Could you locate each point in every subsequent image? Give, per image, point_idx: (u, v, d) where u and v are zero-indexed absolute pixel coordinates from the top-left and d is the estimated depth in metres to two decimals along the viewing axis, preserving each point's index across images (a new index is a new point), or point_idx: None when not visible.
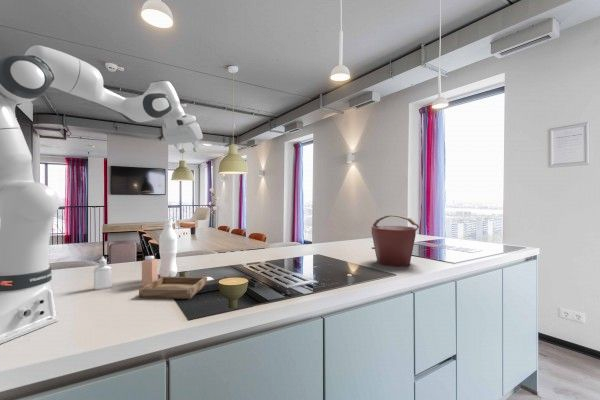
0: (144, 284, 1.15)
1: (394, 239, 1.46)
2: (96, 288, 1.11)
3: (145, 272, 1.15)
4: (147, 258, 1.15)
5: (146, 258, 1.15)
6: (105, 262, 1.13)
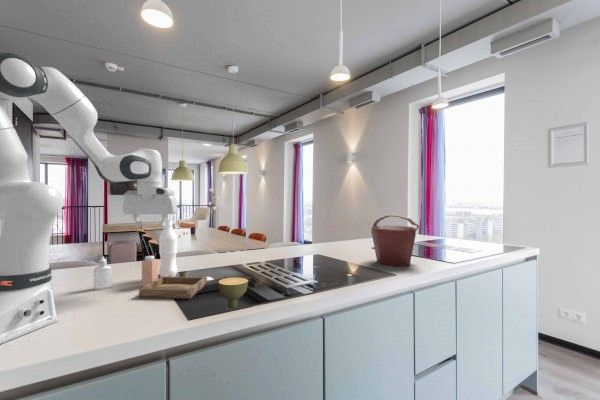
0: (144, 284, 1.15)
1: (394, 239, 1.46)
2: (96, 288, 1.11)
3: (145, 272, 1.15)
4: (147, 258, 1.15)
5: (146, 258, 1.15)
6: (105, 262, 1.13)
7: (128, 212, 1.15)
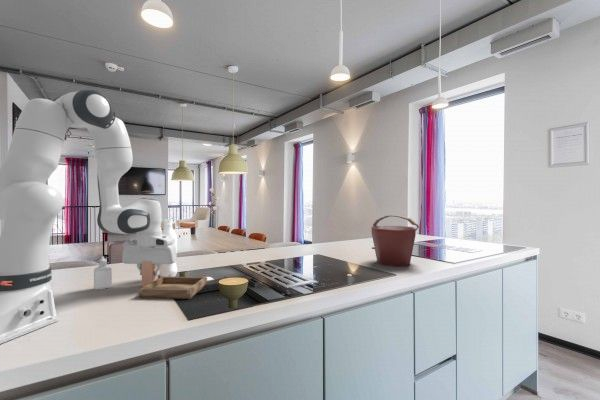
0: (144, 284, 1.15)
1: (394, 239, 1.46)
2: (96, 288, 1.11)
3: (145, 272, 1.15)
4: None
5: None
6: (105, 262, 1.13)
7: (127, 262, 1.15)
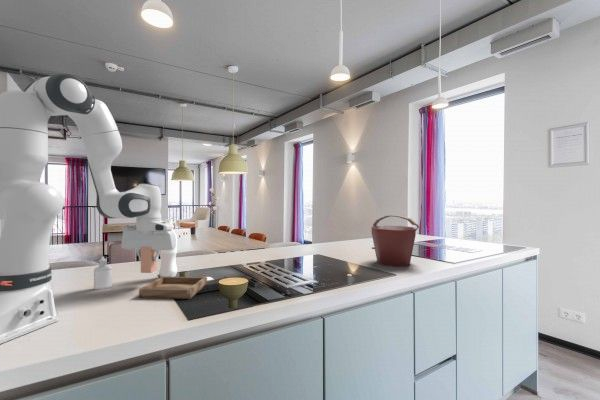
0: (143, 270, 1.15)
1: (394, 239, 1.46)
2: (96, 288, 1.11)
3: (144, 258, 1.15)
4: None
5: None
6: (105, 262, 1.13)
7: (127, 247, 1.15)
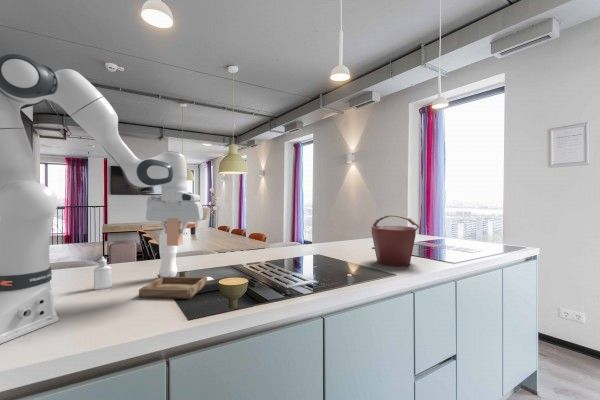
0: (169, 242, 1.08)
1: (394, 239, 1.46)
2: (96, 288, 1.11)
3: (171, 230, 1.08)
4: None
5: None
6: (105, 262, 1.13)
7: (151, 219, 1.09)
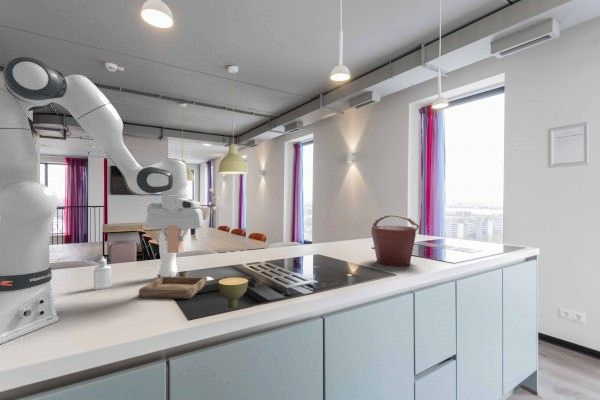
0: (170, 250, 1.08)
1: (394, 239, 1.46)
2: (96, 288, 1.11)
3: (171, 237, 1.08)
4: None
5: None
6: (105, 262, 1.13)
7: (152, 226, 1.09)
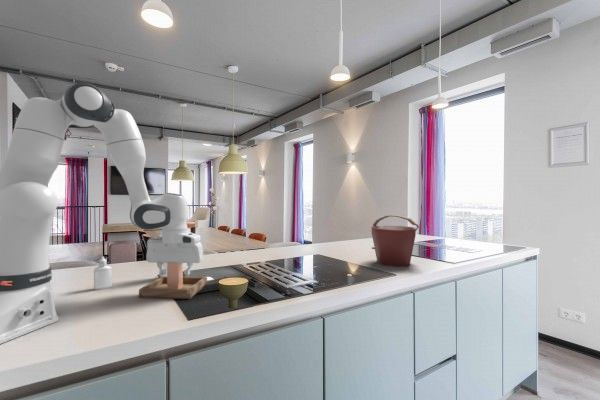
0: (170, 287, 1.09)
1: (394, 239, 1.46)
2: (96, 288, 1.11)
3: (171, 274, 1.08)
4: None
5: None
6: (105, 262, 1.13)
7: (152, 261, 1.09)
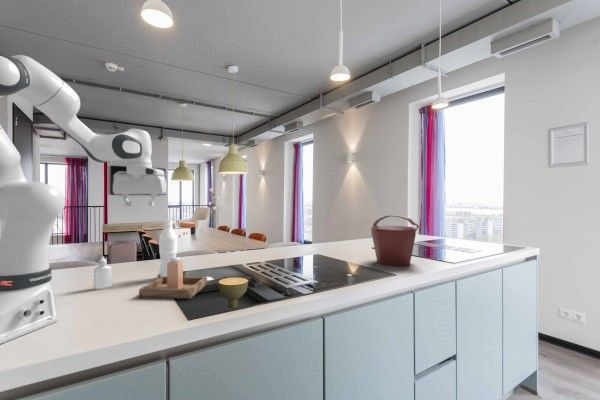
0: (170, 287, 1.09)
1: (394, 239, 1.46)
2: (96, 288, 1.11)
3: (171, 274, 1.08)
4: (173, 260, 1.09)
5: (172, 260, 1.09)
6: (105, 262, 1.13)
7: (118, 192, 1.17)
